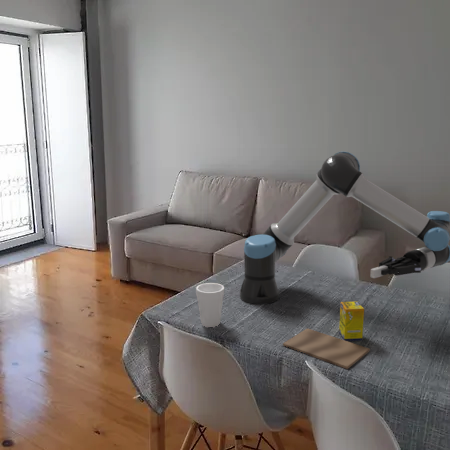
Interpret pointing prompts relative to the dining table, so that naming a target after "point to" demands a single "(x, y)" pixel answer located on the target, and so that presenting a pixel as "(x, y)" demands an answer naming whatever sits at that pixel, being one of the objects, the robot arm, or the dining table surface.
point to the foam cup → (210, 303)
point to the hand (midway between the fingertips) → (372, 273)
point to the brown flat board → (327, 348)
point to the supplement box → (351, 321)
